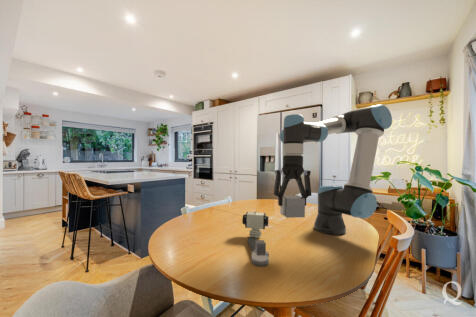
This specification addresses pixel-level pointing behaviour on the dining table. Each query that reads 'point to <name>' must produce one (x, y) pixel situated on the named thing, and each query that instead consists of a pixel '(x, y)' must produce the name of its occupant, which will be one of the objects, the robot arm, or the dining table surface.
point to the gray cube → (294, 206)
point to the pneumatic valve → (255, 222)
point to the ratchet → (258, 252)
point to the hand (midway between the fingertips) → (292, 214)
